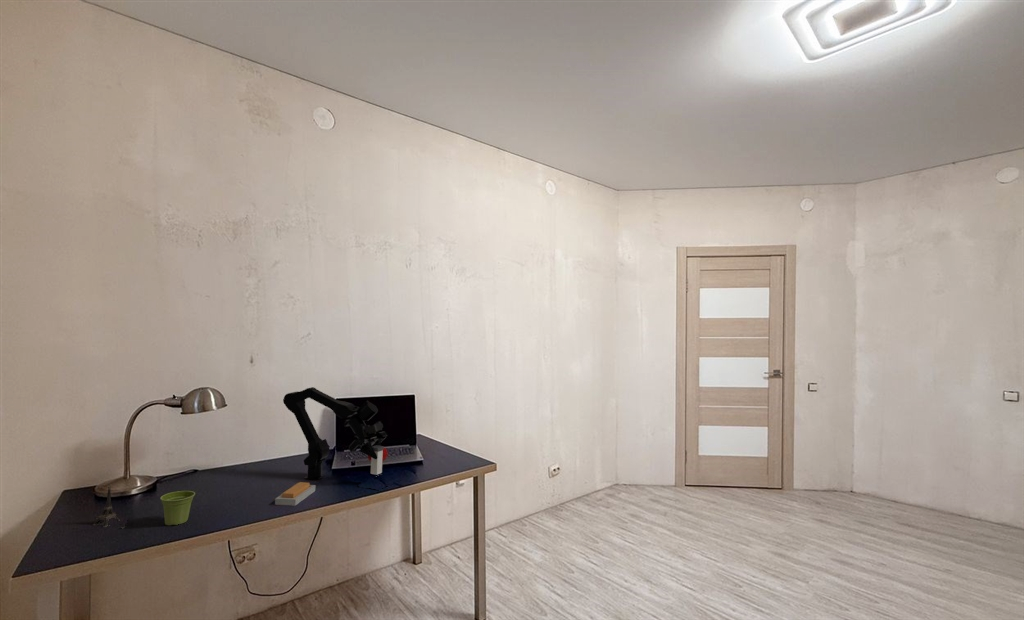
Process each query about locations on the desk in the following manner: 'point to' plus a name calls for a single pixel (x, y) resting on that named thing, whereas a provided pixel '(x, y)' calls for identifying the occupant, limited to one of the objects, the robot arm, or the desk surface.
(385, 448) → the red heart figurine
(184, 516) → the plant pot
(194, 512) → the desk surface
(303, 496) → the button housing
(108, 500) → the eiffel tower figurine
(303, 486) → the button
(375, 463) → the white tall block
